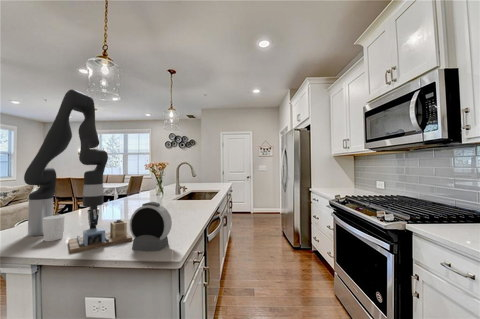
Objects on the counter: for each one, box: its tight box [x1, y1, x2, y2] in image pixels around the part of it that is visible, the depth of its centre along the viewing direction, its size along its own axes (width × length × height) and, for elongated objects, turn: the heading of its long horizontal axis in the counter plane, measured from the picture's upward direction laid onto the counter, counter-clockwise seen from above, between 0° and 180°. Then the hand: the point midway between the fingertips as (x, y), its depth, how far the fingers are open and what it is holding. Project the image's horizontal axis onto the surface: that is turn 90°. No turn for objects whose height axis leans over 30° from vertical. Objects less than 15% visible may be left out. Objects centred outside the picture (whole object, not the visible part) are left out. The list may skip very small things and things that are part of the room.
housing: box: [82, 226, 106, 246], centre depth 93 cm, size 6×7×5 cm
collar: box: [109, 219, 128, 238], centre depth 102 cm, size 6×6×6 cm
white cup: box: [42, 214, 66, 242], centre depth 102 cm, size 8×8×10 cm
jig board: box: [67, 219, 133, 254], centre depth 98 cm, size 15×22×8 cm
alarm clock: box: [129, 201, 173, 252], centre depth 92 cm, size 16×10×18 cm, turn 82°
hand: (92, 234), depth 97 cm, fingers closed
